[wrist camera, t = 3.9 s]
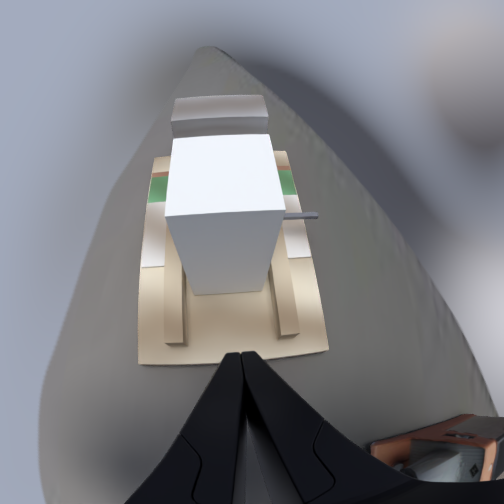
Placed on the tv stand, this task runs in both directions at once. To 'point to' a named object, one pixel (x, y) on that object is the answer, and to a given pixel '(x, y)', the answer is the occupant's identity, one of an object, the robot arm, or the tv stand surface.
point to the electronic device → (448, 450)
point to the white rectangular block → (225, 210)
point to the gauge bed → (227, 304)
